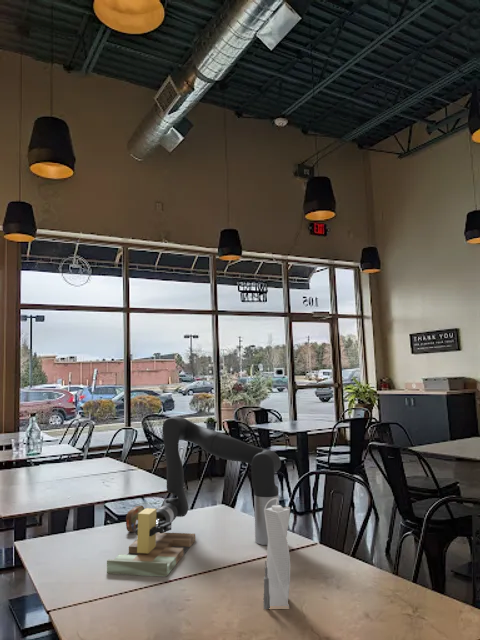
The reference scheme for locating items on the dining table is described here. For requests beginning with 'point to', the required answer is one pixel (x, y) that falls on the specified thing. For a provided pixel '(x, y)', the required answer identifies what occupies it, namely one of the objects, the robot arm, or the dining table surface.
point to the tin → (133, 518)
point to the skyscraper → (277, 556)
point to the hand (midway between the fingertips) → (143, 532)
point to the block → (146, 530)
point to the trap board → (153, 556)
